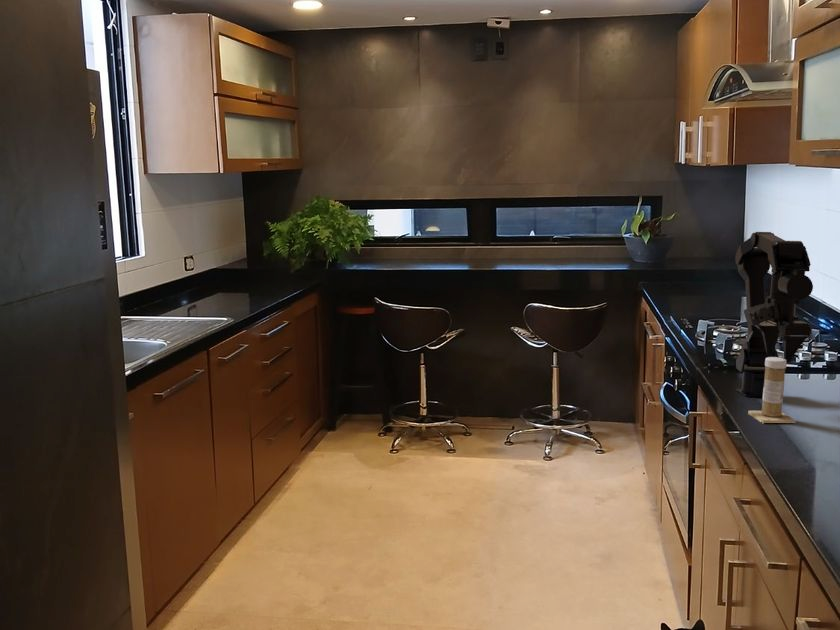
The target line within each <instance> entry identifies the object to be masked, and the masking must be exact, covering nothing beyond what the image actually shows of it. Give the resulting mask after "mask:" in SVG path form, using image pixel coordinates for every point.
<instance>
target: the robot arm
mask: <svg viewBox="0 0 840 630" xmlns="http://www.w3.org/2000/svg"><path fill="white" fill-rule="evenodd" d="M734 257H735V258H734V259H735V260H734V261H735V264H736V266H737V272H738V274H739V275H740V277H741V278H742V280H743V281H744V282H745V286H744V287H745V306H746V309H745V308H744V309H743V315H744V318H745V321H746V323H747V324H746V325H747V336H746V338H745V339H744V341H743V342H742V344H741V350H740V352H739V353H738V355H737V357H736V360H735V364H736V365H735V369H737V370H738V371H739V372H740V373H742V383H741V388H736V391H737V393H740V394H741V395H743V396H745V397H753V398H754V397H755V398H756V397H758V398H759V397H760V398H761V397H762V398H763V388H764V379H765V359H766V358H767V357H779V358H780V356H779V354H778V351H777V349H776V348H777V347H776V344H777V342H778V339H779V337H780V339H781V340H782V343H783V347H782V348H783V349H782V350H783V359H786V361H787V362H786V364H789V363H790V362H791V361H792V359H793V358H794V357H795V354H796V353H797V351H799V348H800V347H801V346H802V345H803V343H804V342H805V340H806V339H808V338H809V337H810V336H812V335H813V333H812V332H813V327H812V325H811V324H810V323H809V322H805V321H803V320H799V316H796V305H800V302H801V301H800V300H804V299H807V298H808V297H809V296H810V295H812V292H813V289H814V285H813V281H812V280H811V278H810V277H809V276H807V275H806V272H810V271H811V270H810V267H811V265H812V264H811V261H810V257H809V254H808V251H807V247H806V246H805V245H804V243H803V241H801V240H785V239H784V238H781V237H779V236H777V235H775V234H774V233H773V232H771V231H755V232H752V233H751V235H750V237H749V238H748V239H747V240H745V241H743V242H741V243H740V244H739V246H738V248H737V250H736V252H735V256H734ZM769 271H771V283H770V291H769V292H770V294H769V296H766V290H765V289H766V287H765V278H766V276H767V274H768V272H769Z"/></svg>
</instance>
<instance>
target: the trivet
mask: <svg viewBox="0 0 840 630" xmlns="http://www.w3.org/2000/svg"><path fill="white" fill-rule="evenodd" d="M761 411H762V410H748V413H747V415H749V416H751V417H752V418H754V419H755V420H757V421H758V422H760V423H761V422H762V423H761V424H763V425H764V423H795V424H796V421H797V420H796V419H794V418H792V417H790V416H789V415H788V414H786V413H784V412H782V415H781V416H779V417H771V416H766V415H763V414H762V413H761Z"/></svg>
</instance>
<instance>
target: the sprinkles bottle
mask: <svg viewBox="0 0 840 630" xmlns="http://www.w3.org/2000/svg"><path fill="white" fill-rule="evenodd" d="M786 362H787V361H786V359H784V357H783V358H782V357H780V356H779V357H767V358H766V359H765V379H764V388H763V397H762V405H761V410H760V411H761V413H762V414H763V415H766V416H771V417H779V416H781V415H782V413H783V412H782V408H783V401H784V391H785V390H784V389H785V373H786V369H787V363H786Z"/></svg>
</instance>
